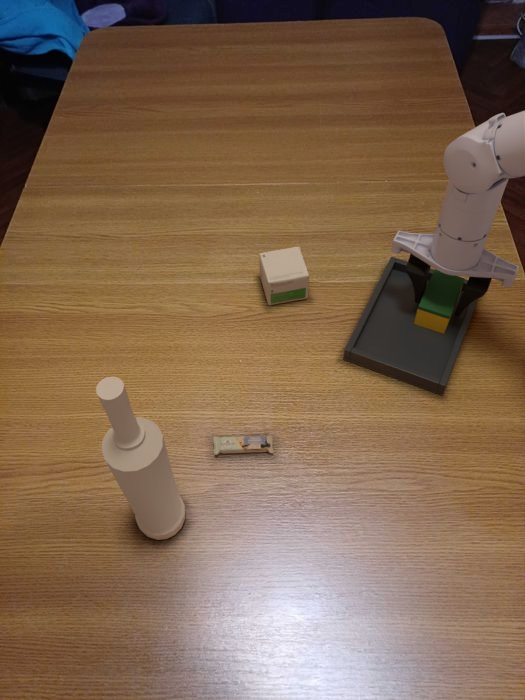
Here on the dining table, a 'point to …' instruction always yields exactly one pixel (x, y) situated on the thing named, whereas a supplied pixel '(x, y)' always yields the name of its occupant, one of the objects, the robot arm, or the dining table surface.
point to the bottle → (140, 464)
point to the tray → (405, 334)
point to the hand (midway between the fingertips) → (438, 304)
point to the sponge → (439, 301)
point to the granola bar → (243, 444)
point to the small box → (284, 275)
